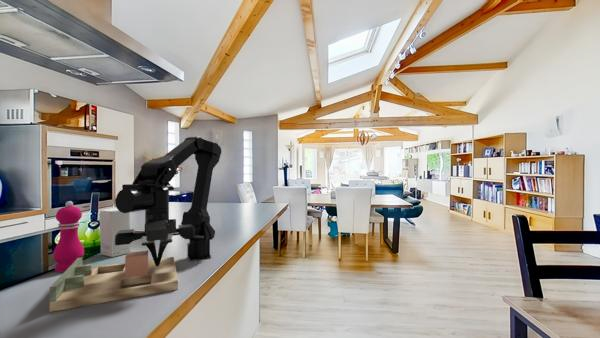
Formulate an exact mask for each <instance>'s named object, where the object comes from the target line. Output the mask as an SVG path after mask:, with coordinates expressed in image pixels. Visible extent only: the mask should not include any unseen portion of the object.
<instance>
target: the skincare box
mask: <svg viewBox="0 0 600 338" xmlns="http://www.w3.org/2000/svg"><path fill="white" fill-rule="evenodd" d="M130 218H131V217H130V213H122V212H120V211H119V210H118V209H117V207H115V208H110V209H103V210H102V209H101V210H99V234H100V235H99V236H100V240H99V241H100V255H104V256H106V257H111V258H113V257H114V258H115V257H119V256H123V255H126V254H127V253H130V252H132V251H131V243H130V244H125V245H115V235H116V234H117V233H118V232H119V231H120V230H130V229H131V228H130V227H131V225H130V223H131V219H130Z"/></svg>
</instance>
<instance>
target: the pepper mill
mask: <svg viewBox="0 0 600 338" xmlns="http://www.w3.org/2000/svg"><path fill="white" fill-rule="evenodd" d="M64 205H65V207H64V206H63V207H61V208H60V209H58V210H57V211H56V213H55V219H56V221H57V222H59V223H58V224H57V226H58V227H57V229H58V230H59V232H60V233H59V234H60V235H59V240H58V242H57V244H56V246H55V247H54V249H53V253H52V259H53V260H54V261H55V262H56V264H55V265H54V271H55V272H56V273H64V272H65V271H66V270H67V269H68V268H69V267H70V266H71V265H72V264H73V263H74V262H75V261H76V260H77V259H78V258H83V257H84V255H85V248H84V247H85V246H84V244H82V242H81V240H80V237H79V232H78V230H79V227H80V226H81V225H80V224H81V223H80V220H81V218H82V217H83V212H82V210H81V209H80V208H78V207H77V206H74V202H73V201H72V200H69V201H66V202H65V204H64Z"/></svg>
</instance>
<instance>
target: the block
mask: <svg viewBox="0 0 600 338" xmlns="http://www.w3.org/2000/svg"><path fill="white" fill-rule="evenodd" d="M148 260H149V249H148V250H139V251H131V252H130V253H127V254H125V258H124V263H125V278H128V277H134V276H141V275H147V274H148Z"/></svg>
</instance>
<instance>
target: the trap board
mask: <svg viewBox="0 0 600 338" xmlns="http://www.w3.org/2000/svg"><path fill="white" fill-rule="evenodd" d="M178 289H179V280H178V274H177V267H176V262H175V257H174V256H170V257H164V258H163V257H162V258H161V261H160V264H159V266H156V265H155V263H154V260H153V259H148V274H147V275H141V276H134V277H128V278H125V262H123V263H115V264H113V263H112V264H107V265H99V266H93V264H92V263H91V264H83V257H81V258H78V259H77V260H76V261H75V262H74V263H73V264H72V265H71V266H70V267H69V268H68V269H67V270H66V271H65V272H62V274H61V275H60V276H59V277H58V278H57V279H56V280H55V281H54V282H53V283H52V284H51V285H50V286H49V313H51V312H57V311H62V310H68V309H73V308H74V309H75V308H80V307H86V306H91V305H97V304H102V303H108V302H112V301H113V302H114V301H121V300H125V299H131V298H136V297H143V296H147V295H148V296H149V295H153V294H159V293H160V294H161V293H165V292H171V291H175V290H178Z"/></svg>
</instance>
